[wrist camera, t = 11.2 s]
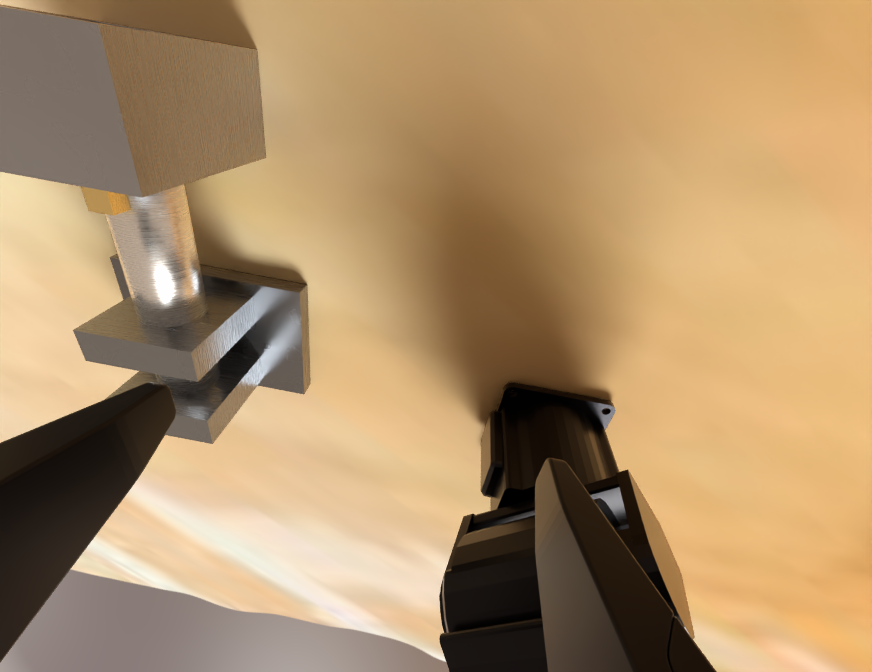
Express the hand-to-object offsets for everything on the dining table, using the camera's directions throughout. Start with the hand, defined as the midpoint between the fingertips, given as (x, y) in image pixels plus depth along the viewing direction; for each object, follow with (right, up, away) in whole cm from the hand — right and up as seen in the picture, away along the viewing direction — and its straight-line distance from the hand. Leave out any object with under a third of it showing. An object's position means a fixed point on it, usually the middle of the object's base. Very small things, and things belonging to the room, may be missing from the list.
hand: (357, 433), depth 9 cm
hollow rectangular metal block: (-9, +13, +7) cm, 17 cm away
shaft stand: (-10, +8, +11) cm, 16 cm away
